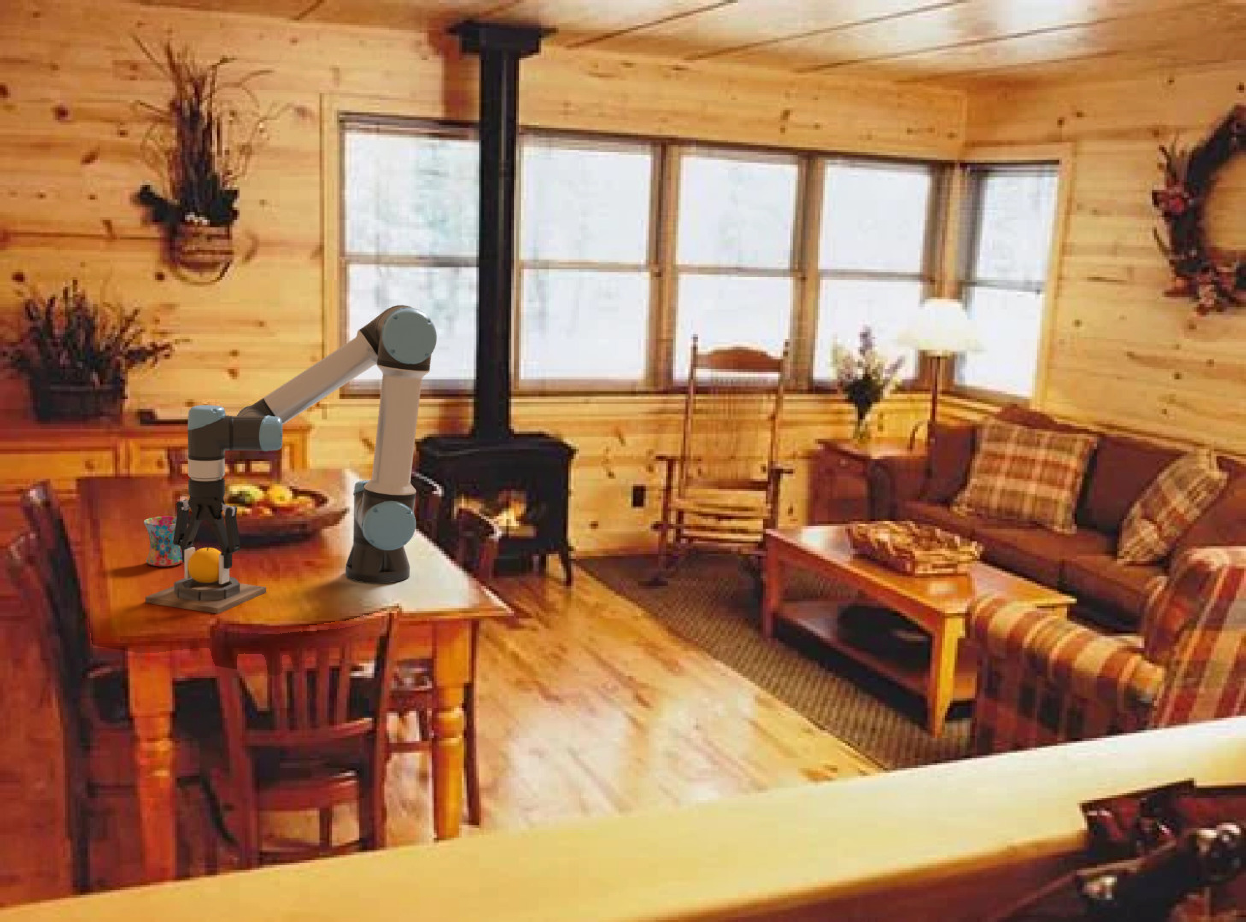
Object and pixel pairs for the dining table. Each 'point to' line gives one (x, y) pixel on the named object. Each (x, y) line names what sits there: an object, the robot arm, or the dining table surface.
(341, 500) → the dining table surface
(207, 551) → the orange fruit
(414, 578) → the dining table surface
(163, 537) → the mug
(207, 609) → the ring board
